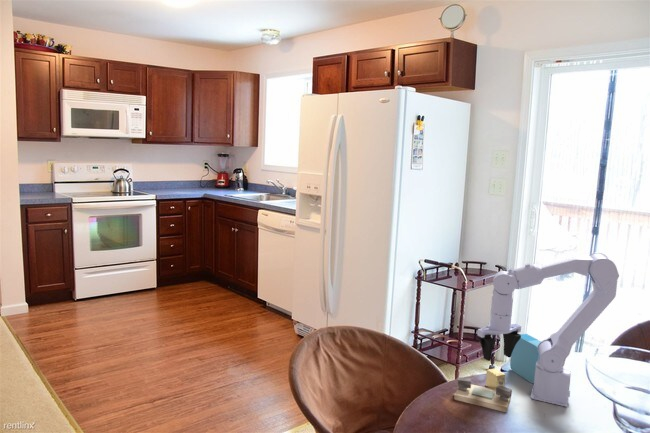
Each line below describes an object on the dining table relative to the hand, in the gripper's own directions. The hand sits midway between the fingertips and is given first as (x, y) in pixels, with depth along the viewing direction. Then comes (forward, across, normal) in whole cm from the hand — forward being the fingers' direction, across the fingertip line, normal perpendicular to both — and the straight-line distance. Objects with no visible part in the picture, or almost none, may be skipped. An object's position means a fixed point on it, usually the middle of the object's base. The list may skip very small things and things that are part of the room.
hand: (497, 357), depth 149 cm
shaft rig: (+9, +8, +4) cm, 13 cm away
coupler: (+9, 0, 0) cm, 9 cm away
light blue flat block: (+10, -16, -3) cm, 19 cm away
